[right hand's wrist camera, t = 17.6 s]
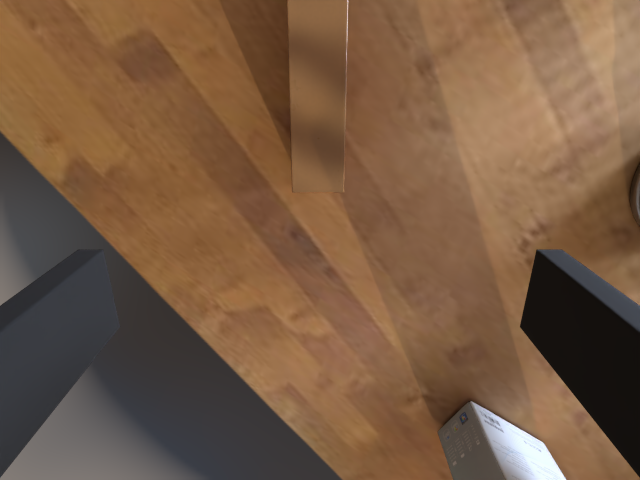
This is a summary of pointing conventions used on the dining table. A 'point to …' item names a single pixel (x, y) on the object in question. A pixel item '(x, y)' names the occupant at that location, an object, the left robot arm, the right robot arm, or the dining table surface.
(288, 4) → the post
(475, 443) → the hard drive box
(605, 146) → the dining table surface
